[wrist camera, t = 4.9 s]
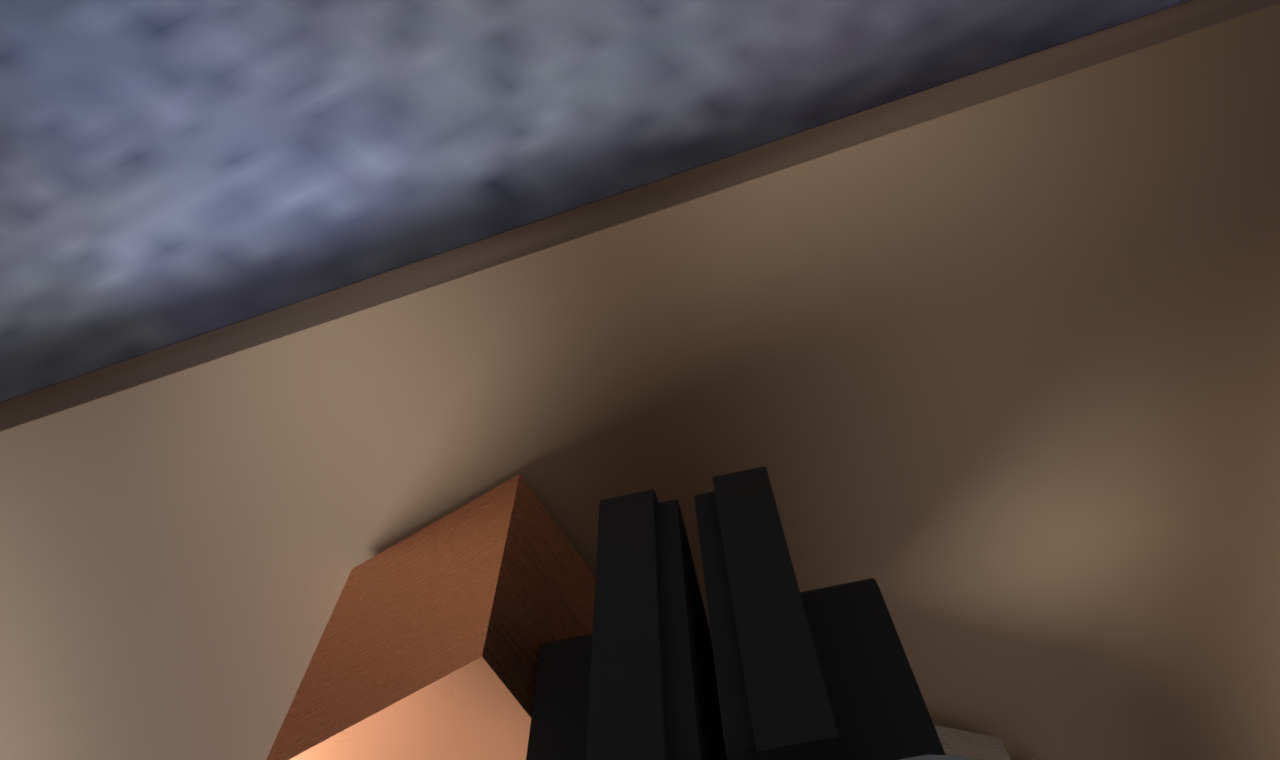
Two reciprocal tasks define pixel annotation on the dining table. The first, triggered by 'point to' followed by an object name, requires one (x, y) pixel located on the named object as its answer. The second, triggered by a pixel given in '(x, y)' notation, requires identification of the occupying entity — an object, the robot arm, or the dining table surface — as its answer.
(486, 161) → the dining table surface
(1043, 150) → the base
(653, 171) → the dining table surface
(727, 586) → the robot arm
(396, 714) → the segmented ring with arms
